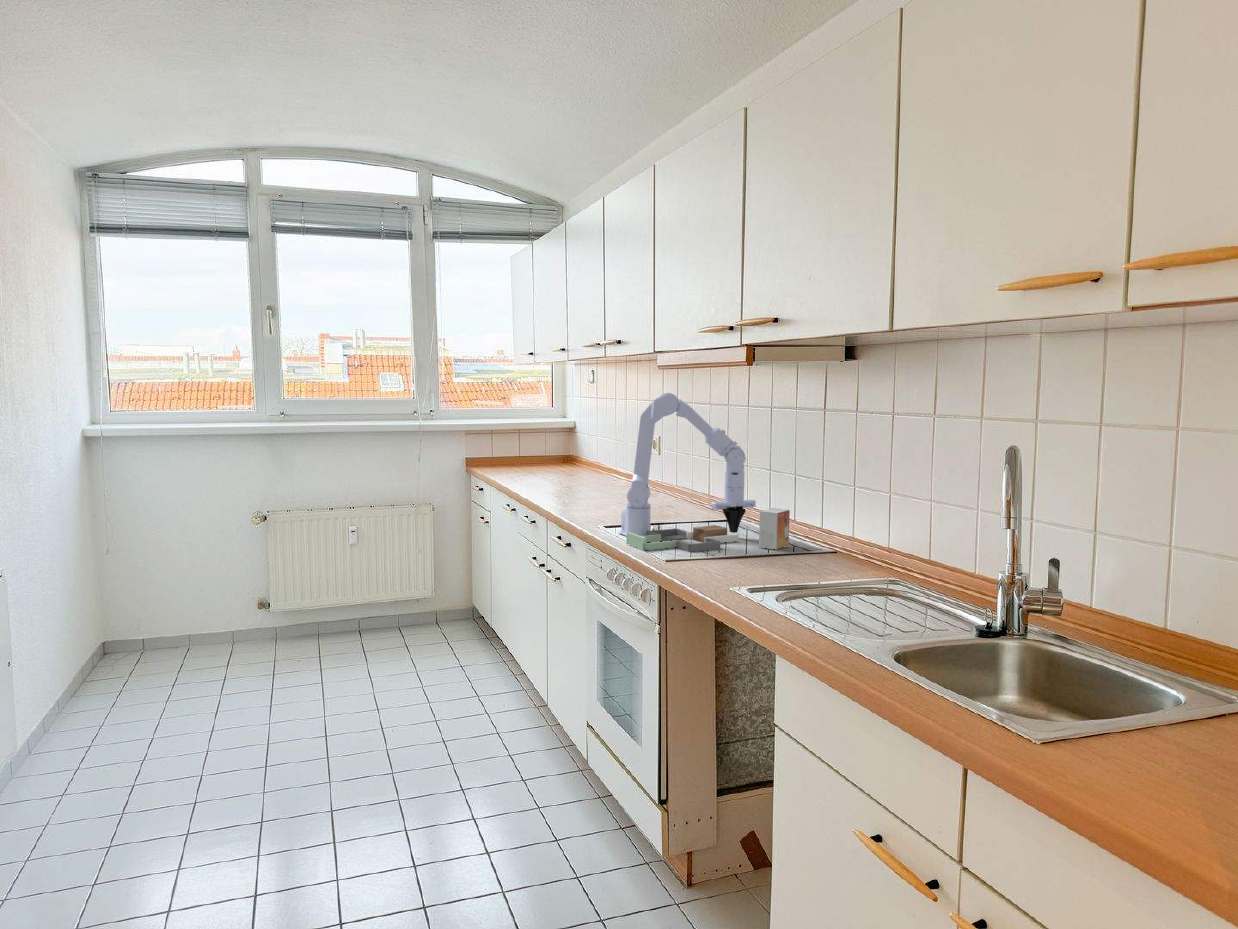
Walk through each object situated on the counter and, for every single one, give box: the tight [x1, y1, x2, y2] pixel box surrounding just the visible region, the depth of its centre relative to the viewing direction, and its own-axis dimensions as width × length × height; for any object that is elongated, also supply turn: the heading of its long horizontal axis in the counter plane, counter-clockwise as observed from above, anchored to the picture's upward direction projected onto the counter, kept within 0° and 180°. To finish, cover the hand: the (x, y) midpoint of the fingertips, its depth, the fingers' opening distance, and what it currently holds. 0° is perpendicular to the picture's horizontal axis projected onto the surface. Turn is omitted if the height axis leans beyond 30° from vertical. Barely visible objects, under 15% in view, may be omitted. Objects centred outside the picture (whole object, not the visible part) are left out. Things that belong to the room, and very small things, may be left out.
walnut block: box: [692, 524, 728, 543], centre depth 247 cm, size 6×8×4 cm
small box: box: [758, 507, 791, 551], centre depth 237 cm, size 8×6×10 cm
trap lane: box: [626, 527, 739, 553], centre depth 243 cm, size 23×32×4 cm
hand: (733, 532), depth 251 cm, fingers closed
